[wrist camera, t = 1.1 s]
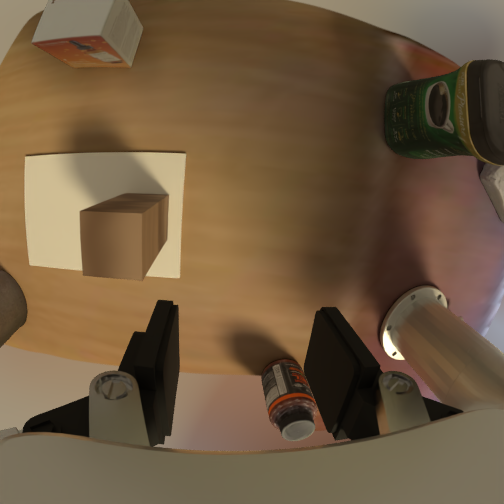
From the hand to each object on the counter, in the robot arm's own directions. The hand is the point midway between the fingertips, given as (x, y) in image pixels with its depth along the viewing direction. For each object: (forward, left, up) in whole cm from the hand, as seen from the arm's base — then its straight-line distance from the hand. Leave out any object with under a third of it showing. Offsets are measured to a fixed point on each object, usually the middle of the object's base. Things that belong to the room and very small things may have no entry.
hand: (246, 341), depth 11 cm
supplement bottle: (-9, +21, -24) cm, 33 cm away
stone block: (-44, -12, -24) cm, 51 cm away
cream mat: (+16, 0, -23) cm, 28 cm away
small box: (+16, -20, -24) cm, 35 cm away
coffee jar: (-21, -15, -24) cm, 35 cm away
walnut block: (+9, 0, -23) cm, 25 cm away
